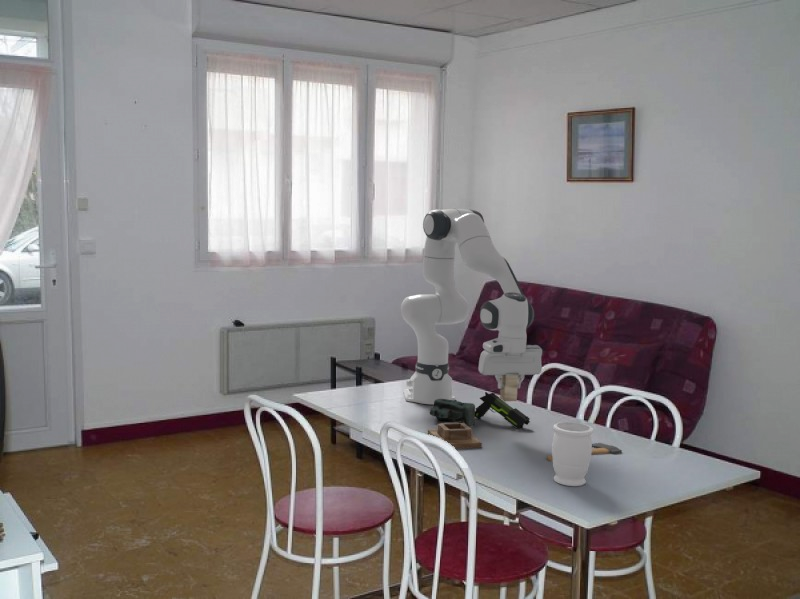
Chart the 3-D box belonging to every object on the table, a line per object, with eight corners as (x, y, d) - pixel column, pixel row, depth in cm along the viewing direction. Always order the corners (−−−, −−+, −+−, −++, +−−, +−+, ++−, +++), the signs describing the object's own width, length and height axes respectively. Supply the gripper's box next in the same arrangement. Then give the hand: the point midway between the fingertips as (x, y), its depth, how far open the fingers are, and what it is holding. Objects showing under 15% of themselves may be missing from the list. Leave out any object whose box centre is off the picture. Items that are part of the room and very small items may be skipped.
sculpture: (427, 412, 275) (472, 423, 272) (433, 391, 277) (478, 402, 274) (429, 421, 286) (472, 432, 283) (435, 400, 288) (478, 411, 286)
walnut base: (427, 434, 263) (428, 420, 263) (463, 432, 267) (464, 418, 266) (443, 449, 248) (444, 434, 248) (481, 447, 251) (482, 433, 251)
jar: (594, 488, 219) (598, 432, 217) (555, 488, 218) (559, 432, 217) (582, 475, 230) (586, 421, 228) (545, 474, 229) (548, 421, 227)
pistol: (530, 429, 275) (532, 399, 273) (526, 431, 272) (527, 401, 271) (476, 417, 287) (477, 388, 285) (470, 419, 284) (472, 390, 283)
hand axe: (600, 440, 261) (623, 449, 252) (599, 445, 261) (623, 454, 253) (533, 450, 247) (555, 460, 239) (532, 456, 247) (555, 466, 239)
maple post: (499, 397, 267) (501, 370, 265) (511, 397, 268) (513, 370, 266) (504, 401, 263) (506, 373, 261) (517, 401, 264) (518, 373, 262)
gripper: (538, 343, 268) (535, 385, 270) (478, 343, 263) (475, 386, 265) (546, 347, 262) (543, 390, 264) (485, 347, 257) (482, 391, 259)
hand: (508, 388), depth 265 cm, fingers closed on maple post, 4 cm apart
